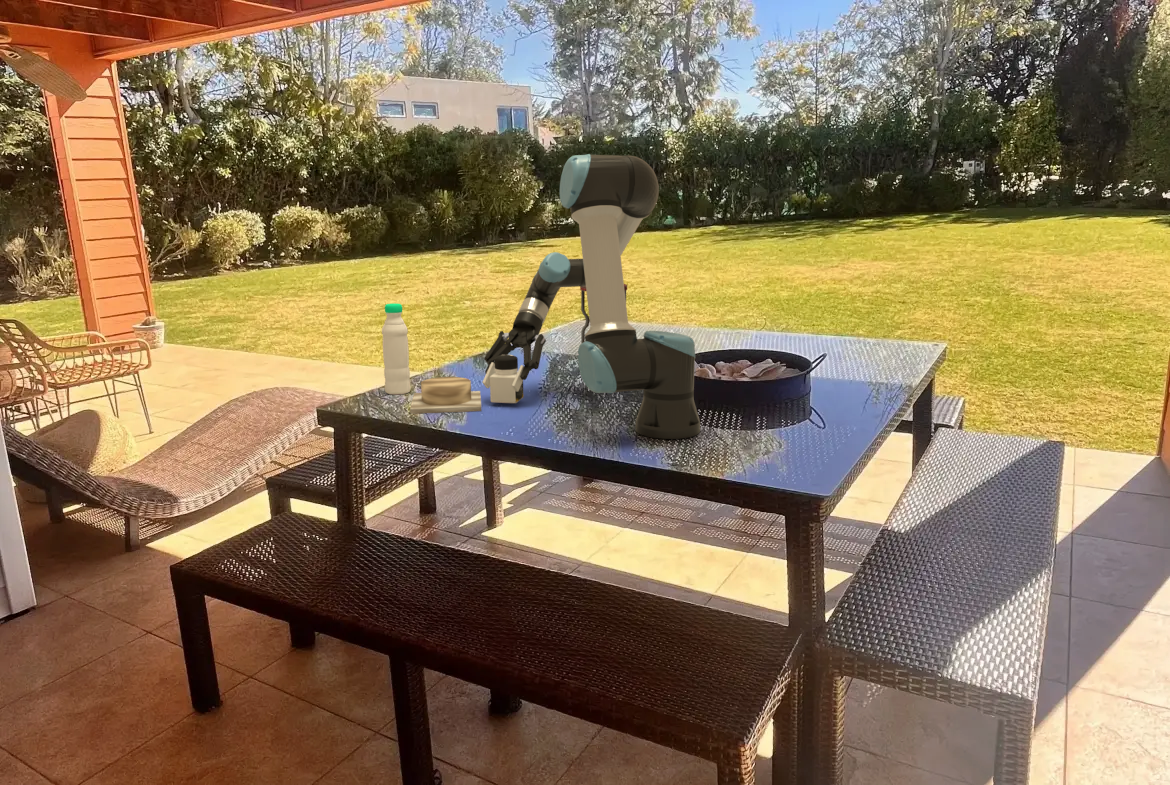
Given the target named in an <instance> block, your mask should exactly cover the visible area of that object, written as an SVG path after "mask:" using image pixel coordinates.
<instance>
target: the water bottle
mask: <svg viewBox="0 0 1170 785" xmlns="http://www.w3.org/2000/svg"><path fill="white" fill-rule="evenodd" d="M384 313H385V316H386V319H385V320H384V324H383V325H382V328H381V335H382V358H383V365H384V368H383V373H384V374H383V377H384V392H385V393H386V394H388V395H392V396H393V395H395V396H396V395H405V394H409V393H410V391H411V389H412V388H411V379H410V378H411V377H410V375H411V372H410V367H409V365H410V362H409V360H410V354H409V352H410V351H409V340H408V332H409V330H408V327H407V325H406V323H405V321H404V319H403V317H402V314H403V305H402V303H397V302H396V303H395V302H394V303H387V304H384Z"/></svg>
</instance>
